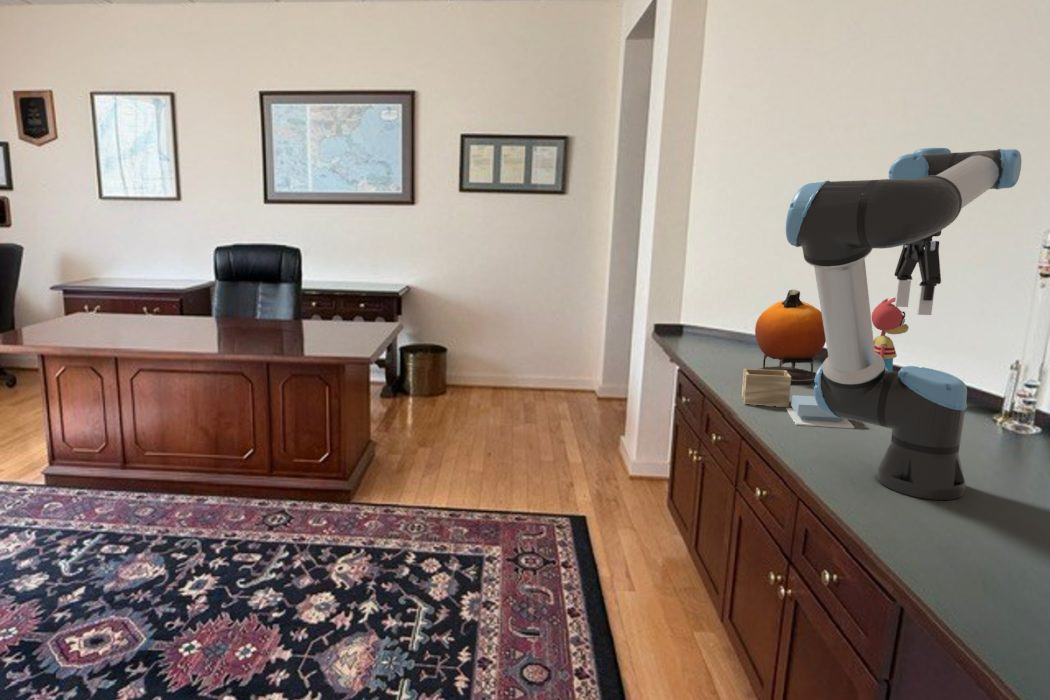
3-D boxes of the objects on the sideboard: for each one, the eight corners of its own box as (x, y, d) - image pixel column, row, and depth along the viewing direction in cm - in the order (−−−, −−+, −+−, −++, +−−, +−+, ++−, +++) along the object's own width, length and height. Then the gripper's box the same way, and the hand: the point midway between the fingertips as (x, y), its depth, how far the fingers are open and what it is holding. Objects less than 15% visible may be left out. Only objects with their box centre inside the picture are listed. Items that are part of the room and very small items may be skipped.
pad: (854, 428, 163) (854, 427, 163) (796, 424, 166) (796, 423, 166) (839, 412, 177) (839, 411, 177) (786, 409, 180) (786, 408, 180)
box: (788, 407, 182) (791, 376, 180) (744, 404, 184) (746, 374, 182) (783, 399, 189) (786, 370, 187) (741, 397, 191) (743, 368, 189)
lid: (848, 423, 166) (850, 407, 165) (797, 420, 168) (798, 404, 167) (839, 413, 174) (841, 397, 173) (790, 410, 177) (792, 395, 176)
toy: (909, 403, 185) (922, 300, 179) (871, 401, 187) (883, 299, 181) (891, 389, 199) (903, 294, 193) (856, 388, 201) (867, 293, 195)
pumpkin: (778, 366, 231) (785, 283, 224) (837, 379, 212) (846, 289, 206) (738, 374, 219) (744, 287, 213) (797, 389, 200) (805, 294, 194)
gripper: (967, 218, 134) (953, 318, 138) (919, 218, 158) (908, 304, 162) (928, 218, 135) (915, 317, 139) (886, 218, 159) (876, 303, 163)
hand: (912, 310), depth 151 cm, fingers open, 13 cm apart
